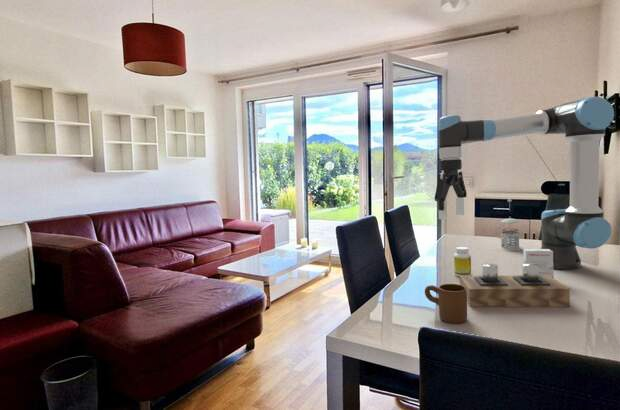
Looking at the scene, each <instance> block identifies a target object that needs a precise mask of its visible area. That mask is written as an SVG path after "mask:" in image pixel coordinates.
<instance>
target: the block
mask: <svg viewBox="0 0 620 410" xmlns="http://www.w3.org/2000/svg"><path fill="white" fill-rule="evenodd" d="M459 285H462V286H464V287H465V288H466V293H467V302H468V303H467V305H468V304H469V305H470V306H496V307H497V306H498V307H499V306H500V307H501V308H502V307H503V308H506V307H507V308H509V307H513V308H517V307H518V308H520V307H521V308H530V307H531V308H536V307H537V308H570V300H571V299H570V296H571V295H570V288H569V287H567V286H566V285H565V284H563V283H561V282H560V281H559V280H557V279H555V277H554V278H552V277H551V276H549V275H539V282H524V281H523V274H521V275H498V283H484V282H483V275H471V276H460V277H459ZM469 305H468V306H469ZM470 306H469V307H470ZM498 307H497V308H498ZM500 307H499V308H500Z"/></svg>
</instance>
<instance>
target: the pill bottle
mask: <svg viewBox="0 0 620 410" xmlns="http://www.w3.org/2000/svg"><path fill="white" fill-rule="evenodd" d="M471 256H472V255H471V253H469V247H466V246H457V247H456V248H455V253H454V254H453V264H454V265H453V268H454V275H455V276H456V277H459V278H460V276H472V257H471Z"/></svg>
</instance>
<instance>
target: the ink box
mask: <svg viewBox="0 0 620 410" xmlns="http://www.w3.org/2000/svg"><path fill="white" fill-rule="evenodd" d="M522 251H523V253H522V254H523V255H522V256H523V260H522V261H523V263H535V264H538V265H539V275H549V276H551V277H552V278H554V279H555V277H554V269H553V251H551V250H550V249H541V248H523V250H522Z"/></svg>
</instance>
